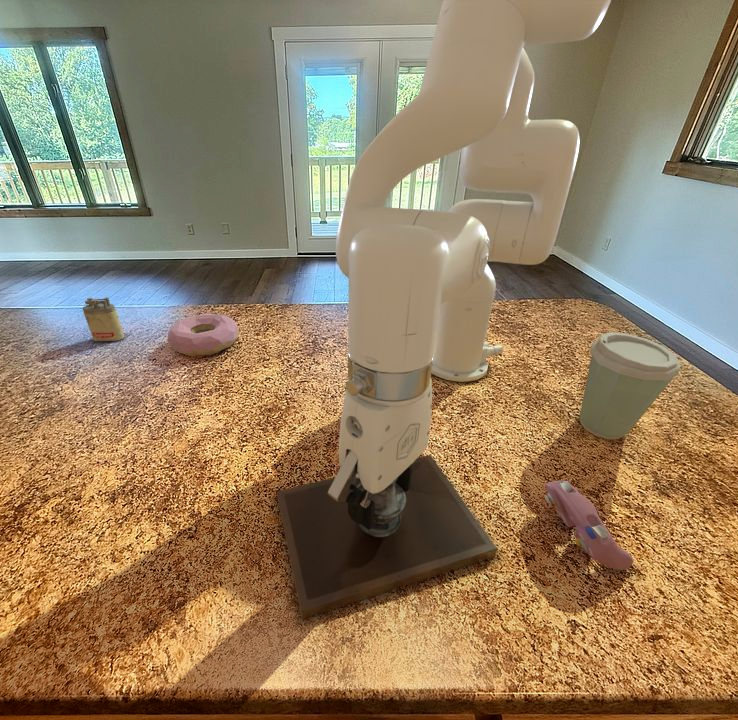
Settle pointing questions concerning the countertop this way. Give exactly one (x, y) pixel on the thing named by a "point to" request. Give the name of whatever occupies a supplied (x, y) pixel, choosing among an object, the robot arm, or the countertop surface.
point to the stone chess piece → (386, 510)
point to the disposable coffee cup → (623, 382)
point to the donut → (203, 334)
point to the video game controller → (587, 525)
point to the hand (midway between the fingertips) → (379, 500)
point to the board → (377, 541)
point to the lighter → (103, 320)
